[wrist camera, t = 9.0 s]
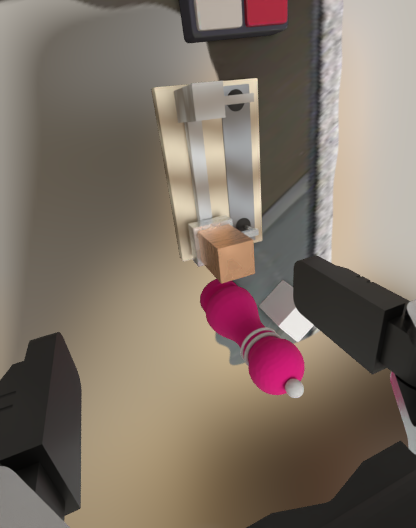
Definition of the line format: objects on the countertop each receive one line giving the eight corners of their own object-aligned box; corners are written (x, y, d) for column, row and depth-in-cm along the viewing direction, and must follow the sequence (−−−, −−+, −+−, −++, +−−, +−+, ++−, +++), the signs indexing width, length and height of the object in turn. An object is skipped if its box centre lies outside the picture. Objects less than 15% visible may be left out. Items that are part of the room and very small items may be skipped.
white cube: (258, 306, 49) (278, 326, 44) (282, 279, 49) (305, 296, 44) (277, 322, 52) (298, 342, 47) (300, 297, 52) (323, 315, 47)
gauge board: (151, 89, 31) (168, 78, 25) (251, 79, 35) (288, 68, 28) (180, 257, 40) (198, 281, 34) (257, 237, 44) (286, 255, 37)
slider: (187, 223, 36) (212, 245, 29) (249, 208, 38) (286, 226, 31) (192, 259, 38) (217, 289, 31) (250, 244, 40) (286, 268, 33)
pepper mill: (212, 324, 47) (284, 433, 30) (187, 295, 43) (255, 402, 26) (247, 296, 47) (338, 388, 30) (226, 265, 44) (317, 351, 27)
